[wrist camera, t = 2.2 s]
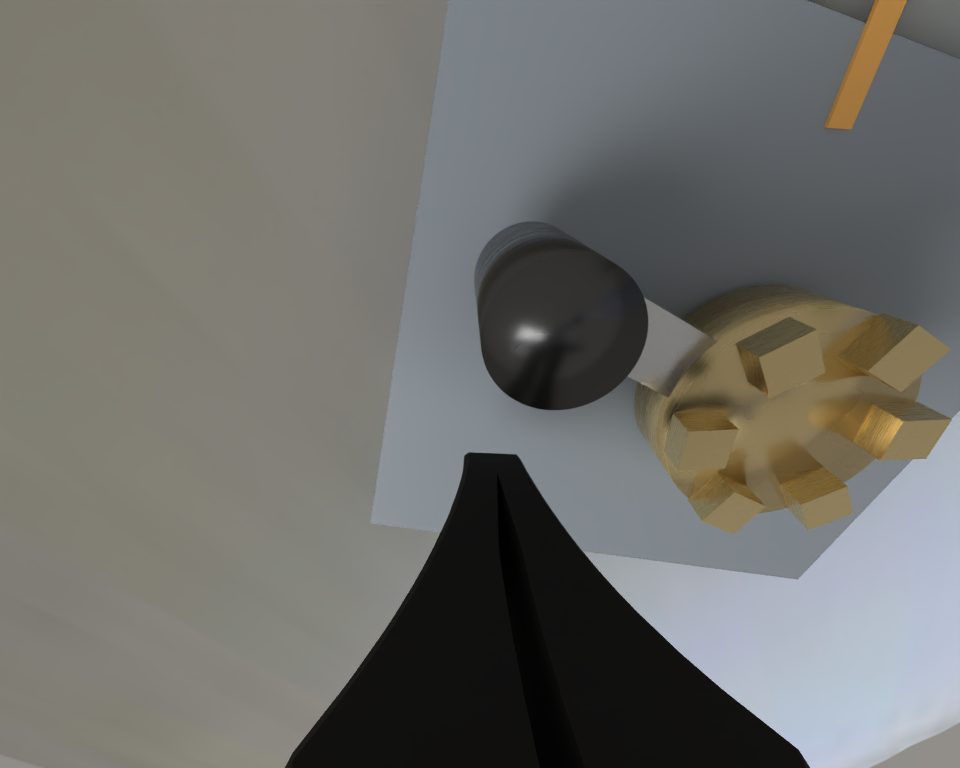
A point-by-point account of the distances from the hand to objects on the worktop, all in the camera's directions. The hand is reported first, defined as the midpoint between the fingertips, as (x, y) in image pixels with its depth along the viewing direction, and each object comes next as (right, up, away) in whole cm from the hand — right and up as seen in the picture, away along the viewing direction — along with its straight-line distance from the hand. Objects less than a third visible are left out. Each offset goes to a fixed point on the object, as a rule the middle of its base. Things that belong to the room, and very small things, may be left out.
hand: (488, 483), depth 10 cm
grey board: (+7, +4, +3) cm, 8 cm away
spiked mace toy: (+5, +4, +1) cm, 7 cm away
